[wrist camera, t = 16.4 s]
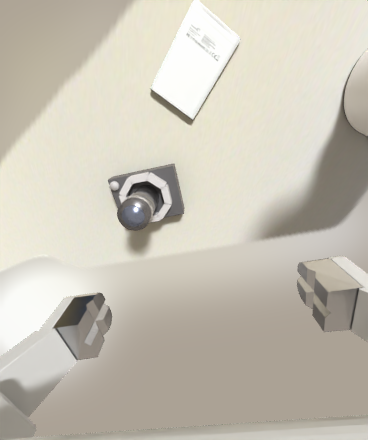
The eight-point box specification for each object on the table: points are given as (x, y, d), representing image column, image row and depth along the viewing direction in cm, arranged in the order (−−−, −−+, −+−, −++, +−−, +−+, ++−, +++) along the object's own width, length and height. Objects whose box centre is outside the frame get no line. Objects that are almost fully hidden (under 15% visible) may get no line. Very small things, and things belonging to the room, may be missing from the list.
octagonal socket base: (174, 163, 36) (172, 167, 32) (184, 208, 40) (183, 216, 36) (113, 176, 38) (104, 181, 34) (128, 218, 41) (121, 228, 37)
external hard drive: (151, 90, 32) (194, 3, 28) (192, 120, 34) (239, 42, 29) (149, 88, 31) (194, -5, 26) (193, 119, 32) (241, 38, 28)
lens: (156, 182, 35) (144, 197, 26) (162, 207, 37) (154, 228, 28) (130, 187, 35) (111, 203, 27) (138, 211, 37) (122, 234, 29)
